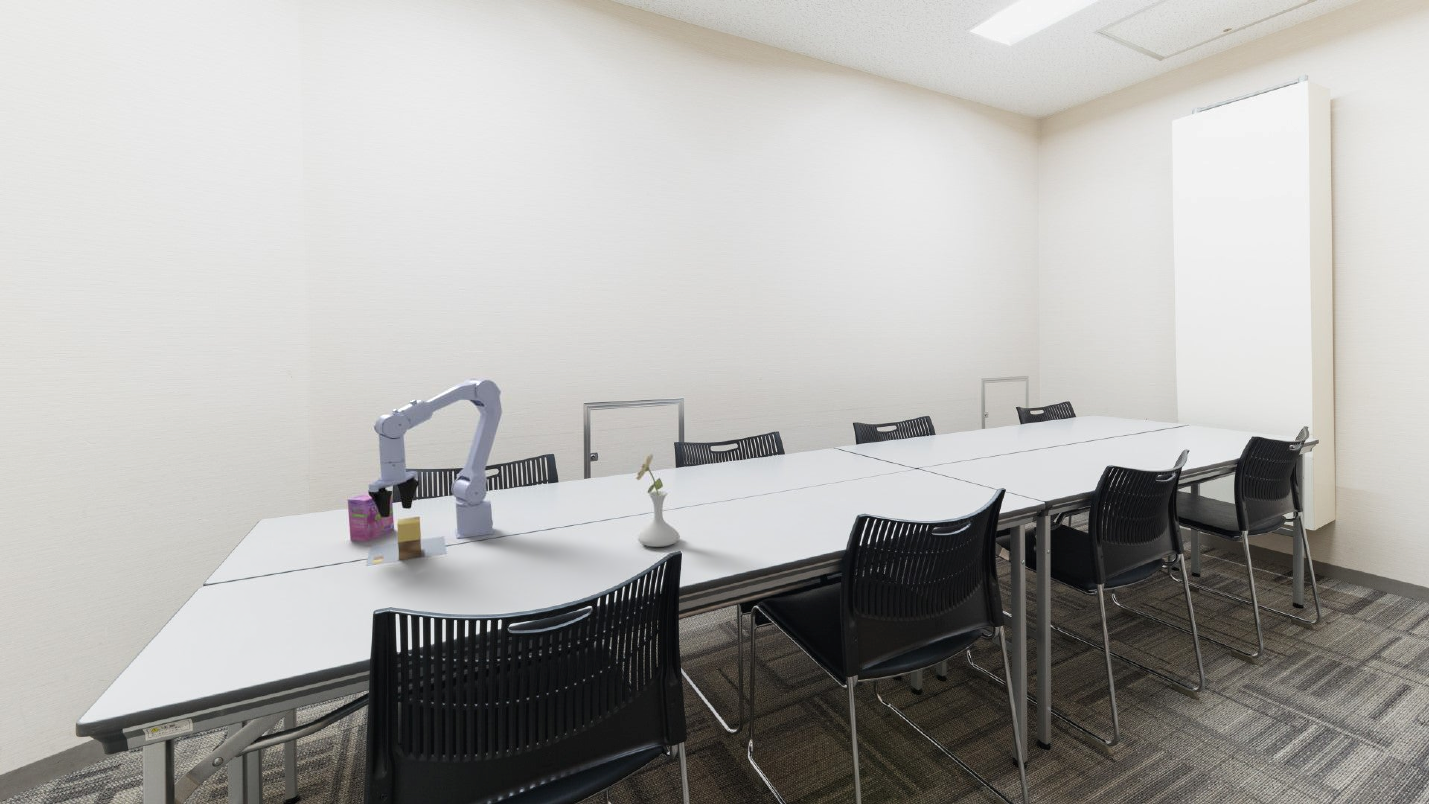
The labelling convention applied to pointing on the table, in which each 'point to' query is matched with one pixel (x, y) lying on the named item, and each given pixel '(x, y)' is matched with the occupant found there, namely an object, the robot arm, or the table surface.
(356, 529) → the box
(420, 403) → the robot arm
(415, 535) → the mustard block
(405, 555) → the walnut block
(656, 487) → the flower in vase
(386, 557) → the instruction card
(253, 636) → the table surface
